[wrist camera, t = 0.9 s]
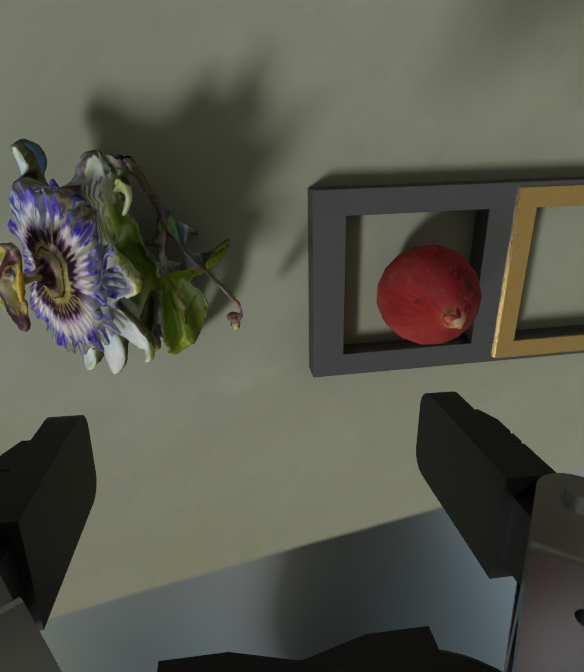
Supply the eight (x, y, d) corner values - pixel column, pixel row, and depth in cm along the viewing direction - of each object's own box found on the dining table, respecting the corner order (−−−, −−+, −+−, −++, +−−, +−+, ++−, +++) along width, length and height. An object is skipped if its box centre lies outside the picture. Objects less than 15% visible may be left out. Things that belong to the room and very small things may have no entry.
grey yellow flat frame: (307, 187, 28) (313, 191, 27) (677, 173, 32) (701, 175, 30) (309, 367, 33) (314, 378, 32) (631, 338, 36) (649, 347, 35)
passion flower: (87, 230, 33) (-71, 130, 21) (239, 193, 31) (161, 63, 20) (104, 393, 31) (-61, 382, 19) (267, 361, 29) (198, 328, 18)
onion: (410, 215, 30) (474, 241, 23) (462, 275, 32) (535, 316, 25) (344, 281, 31) (385, 326, 24) (399, 334, 33) (451, 391, 26)
